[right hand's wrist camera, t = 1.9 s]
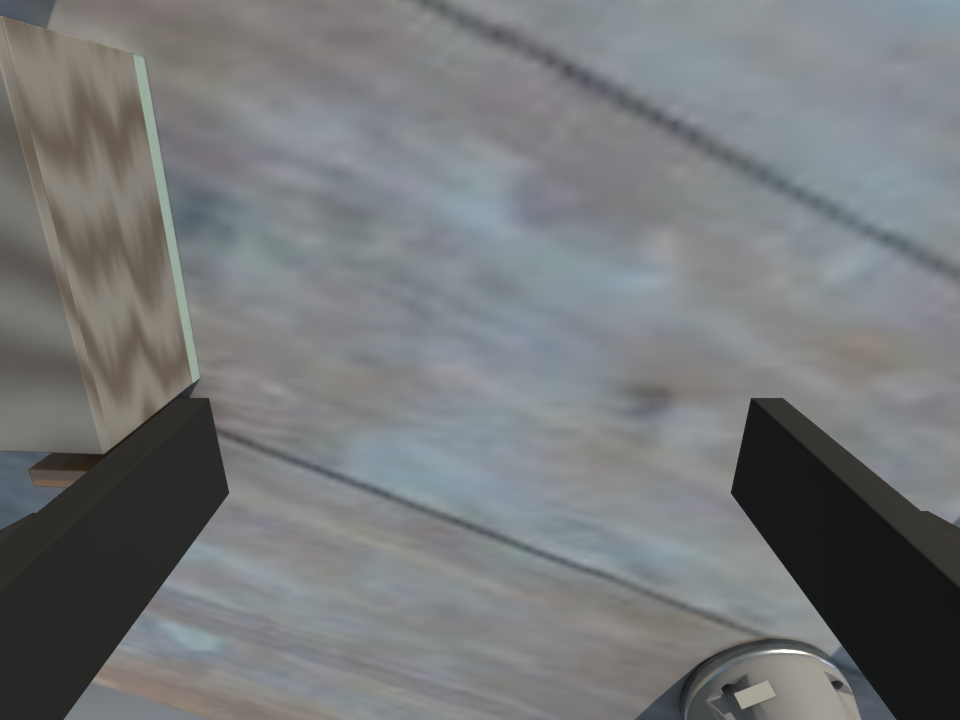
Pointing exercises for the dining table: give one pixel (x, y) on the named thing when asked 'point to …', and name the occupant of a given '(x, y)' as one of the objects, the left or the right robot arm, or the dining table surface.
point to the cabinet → (83, 248)
